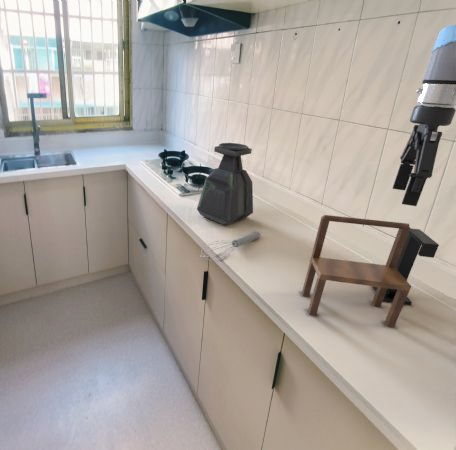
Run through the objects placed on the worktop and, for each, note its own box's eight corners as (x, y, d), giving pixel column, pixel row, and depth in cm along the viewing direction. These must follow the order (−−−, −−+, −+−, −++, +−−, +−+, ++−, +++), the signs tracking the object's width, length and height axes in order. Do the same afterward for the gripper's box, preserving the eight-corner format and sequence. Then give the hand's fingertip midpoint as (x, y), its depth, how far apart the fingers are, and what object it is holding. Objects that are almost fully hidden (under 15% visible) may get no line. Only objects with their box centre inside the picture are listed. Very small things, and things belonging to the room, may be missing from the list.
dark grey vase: (226, 229, 131) (236, 152, 118) (195, 216, 142) (201, 144, 130) (252, 218, 142) (265, 147, 129) (222, 207, 153) (230, 140, 141)
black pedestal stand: (372, 286, 98) (395, 223, 90) (398, 290, 97) (424, 227, 89) (388, 310, 88) (415, 242, 80) (418, 314, 87) (448, 245, 79)
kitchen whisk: (267, 238, 125) (269, 223, 122) (210, 270, 103) (213, 252, 100) (252, 233, 128) (254, 218, 126) (195, 262, 107) (197, 245, 104)
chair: (378, 303, 91) (408, 222, 81) (394, 327, 82) (430, 240, 72) (301, 292, 94) (322, 213, 84) (309, 314, 85) (333, 229, 75)
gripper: (404, 101, 87) (379, 181, 95) (428, 107, 66) (393, 209, 74) (440, 103, 84) (411, 186, 92) (477, 110, 63) (435, 216, 71)
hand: (403, 196), depth 83 cm, fingers open, 13 cm apart
